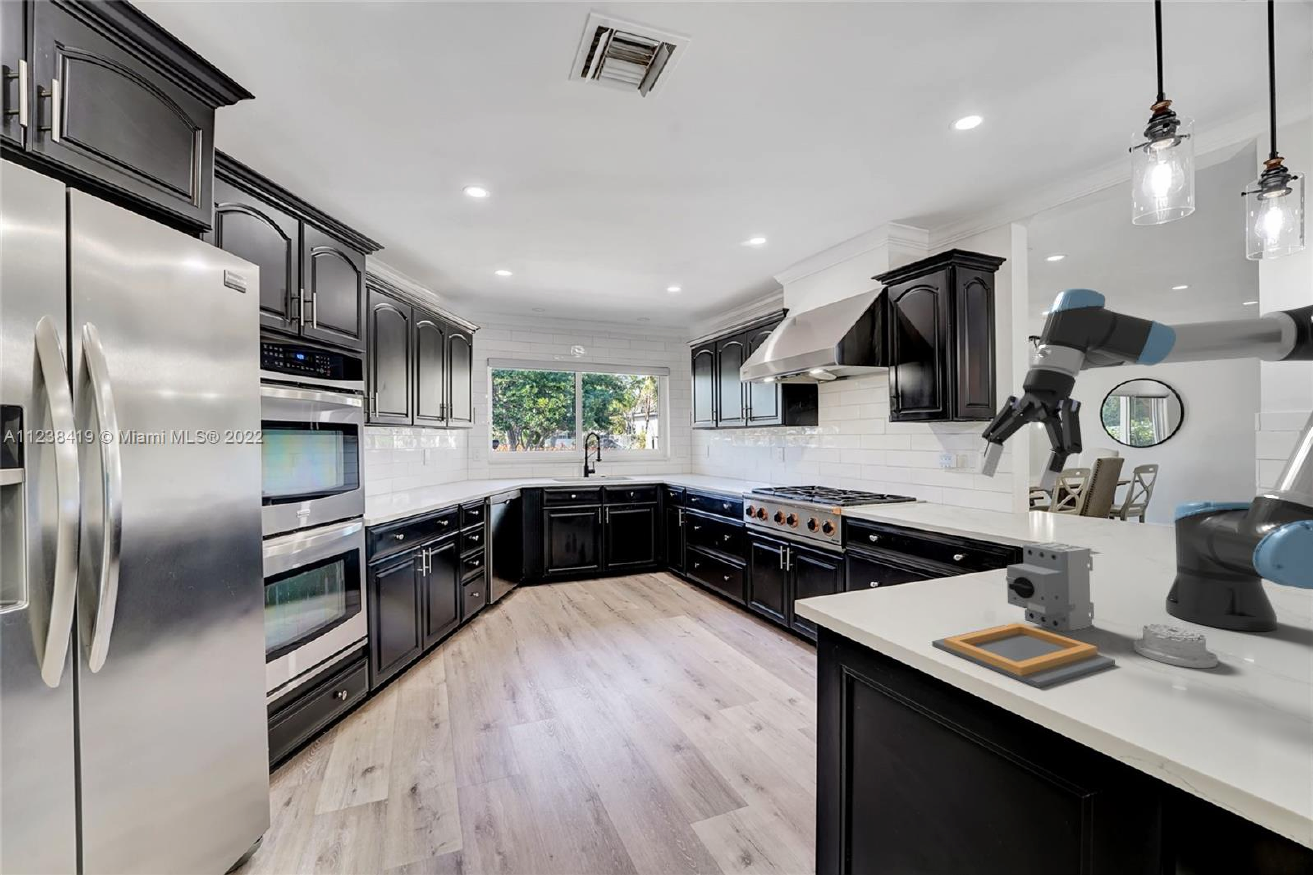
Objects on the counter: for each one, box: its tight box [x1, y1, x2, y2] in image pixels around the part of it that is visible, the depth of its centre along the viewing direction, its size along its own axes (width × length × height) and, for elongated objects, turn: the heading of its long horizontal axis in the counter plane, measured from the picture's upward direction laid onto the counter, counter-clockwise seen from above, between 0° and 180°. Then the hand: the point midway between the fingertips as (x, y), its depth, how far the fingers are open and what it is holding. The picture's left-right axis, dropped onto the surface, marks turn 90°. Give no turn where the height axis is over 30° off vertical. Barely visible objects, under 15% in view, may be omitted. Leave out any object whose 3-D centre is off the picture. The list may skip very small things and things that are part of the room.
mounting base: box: [931, 622, 1116, 689], centre depth 91 cm, size 19×18×2 cm
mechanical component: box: [1133, 623, 1219, 669], centre depth 89 cm, size 10×4×10 cm
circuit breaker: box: [1005, 541, 1095, 633], centre depth 104 cm, size 8×14×15 cm, turn 107°
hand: (1012, 481), depth 101 cm, fingers open, 13 cm apart
